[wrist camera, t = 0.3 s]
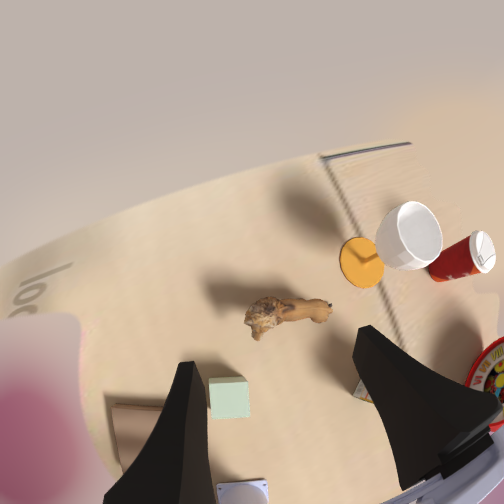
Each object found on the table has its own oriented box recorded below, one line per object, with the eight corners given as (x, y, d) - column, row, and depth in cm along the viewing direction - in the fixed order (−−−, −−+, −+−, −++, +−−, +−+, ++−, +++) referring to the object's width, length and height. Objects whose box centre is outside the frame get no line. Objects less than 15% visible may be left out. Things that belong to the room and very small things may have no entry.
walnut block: (201, 472, 33) (201, 480, 30) (128, 468, 31) (123, 475, 28) (193, 406, 36) (192, 411, 34) (117, 402, 35) (110, 407, 32)
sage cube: (245, 407, 37) (250, 416, 32) (211, 409, 36) (211, 419, 32) (243, 376, 38) (248, 381, 34) (208, 377, 38) (208, 383, 33)
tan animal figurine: (242, 341, 40) (251, 343, 31) (235, 306, 41) (242, 298, 33) (333, 320, 43) (361, 315, 34) (326, 287, 44) (352, 276, 36)
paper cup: (437, 295, 47) (488, 280, 34) (419, 264, 48) (469, 242, 35) (453, 272, 49) (500, 255, 36) (436, 243, 50) (482, 220, 37)
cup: (361, 227, 48) (414, 186, 33) (391, 266, 47) (452, 238, 32) (329, 258, 46) (382, 221, 30) (363, 299, 44) (425, 280, 29)
